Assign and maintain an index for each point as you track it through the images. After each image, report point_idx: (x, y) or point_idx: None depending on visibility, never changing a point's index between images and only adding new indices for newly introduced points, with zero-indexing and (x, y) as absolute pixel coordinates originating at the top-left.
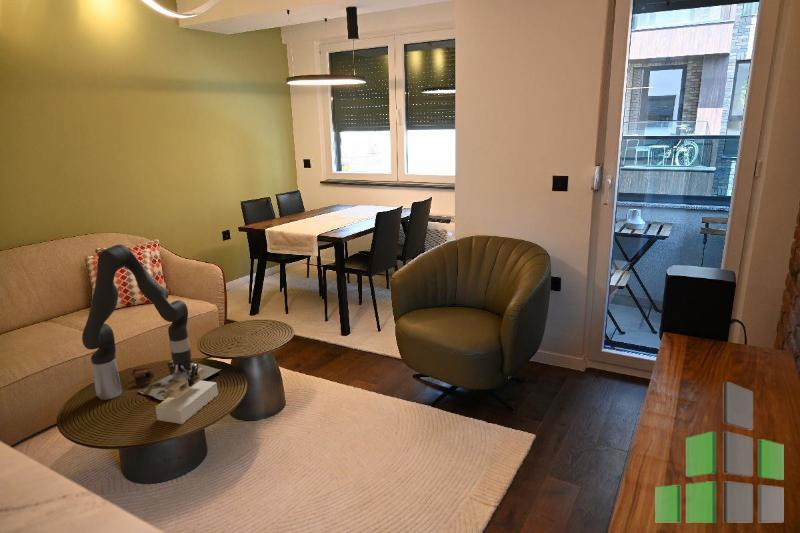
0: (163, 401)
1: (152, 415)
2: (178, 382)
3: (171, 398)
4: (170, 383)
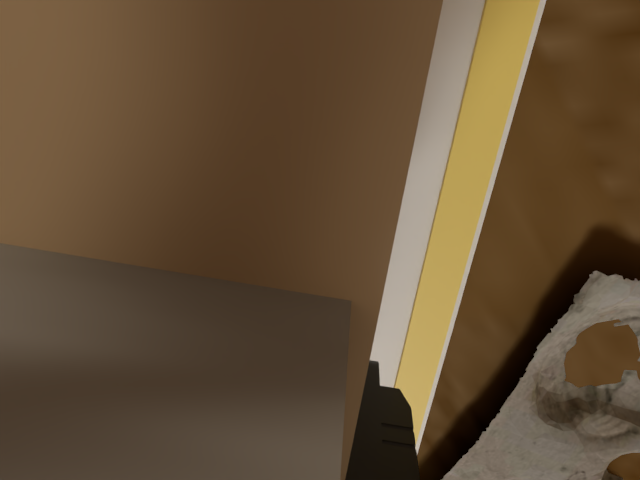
0: (519, 41)
1: (626, 4)
2: (99, 245)
3: (435, 158)
4: (356, 152)
